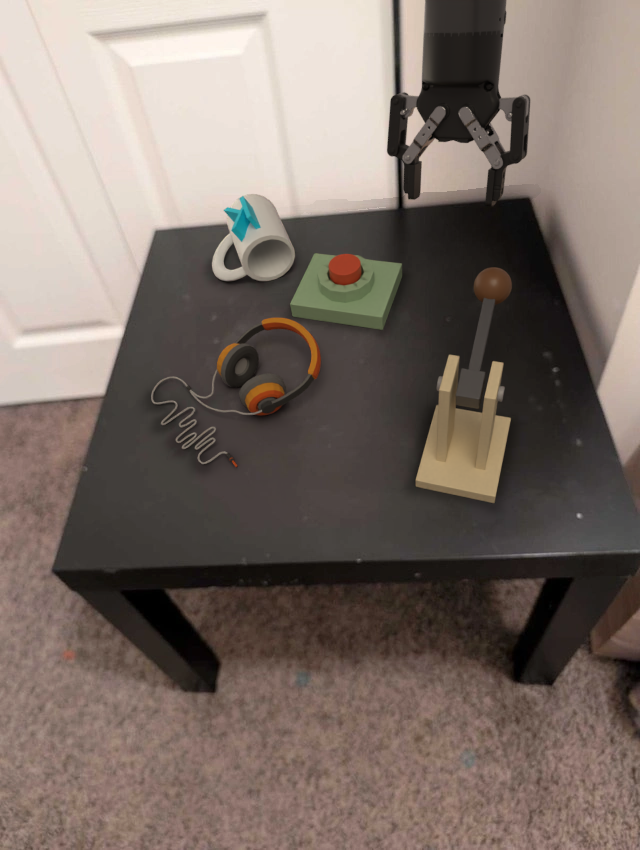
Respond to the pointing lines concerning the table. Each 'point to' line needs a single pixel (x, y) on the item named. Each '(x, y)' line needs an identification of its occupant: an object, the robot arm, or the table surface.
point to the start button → (345, 269)
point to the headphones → (250, 379)
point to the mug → (254, 241)
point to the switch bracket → (465, 440)
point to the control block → (347, 293)
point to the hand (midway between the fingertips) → (451, 201)
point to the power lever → (482, 334)
